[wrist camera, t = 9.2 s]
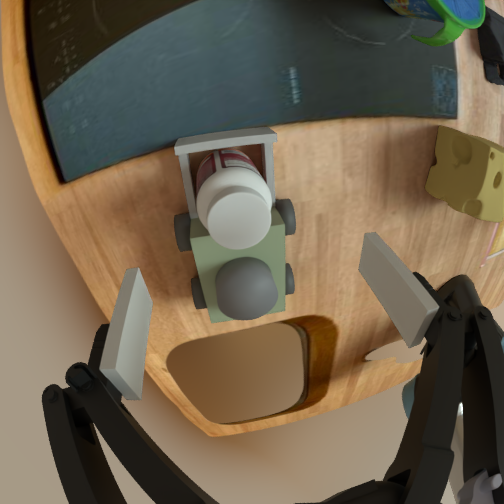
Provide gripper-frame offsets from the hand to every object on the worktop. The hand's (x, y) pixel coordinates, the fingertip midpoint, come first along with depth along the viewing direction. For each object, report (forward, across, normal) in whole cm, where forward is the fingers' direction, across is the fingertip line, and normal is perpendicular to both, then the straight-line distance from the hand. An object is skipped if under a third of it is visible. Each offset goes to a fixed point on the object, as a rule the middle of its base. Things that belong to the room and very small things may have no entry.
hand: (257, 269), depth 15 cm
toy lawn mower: (+16, 0, +5) cm, 17 cm away
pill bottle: (+16, +1, 0) cm, 16 cm away
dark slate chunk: (+17, -49, -24) cm, 57 cm away
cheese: (+17, -33, -1) cm, 37 cm away
